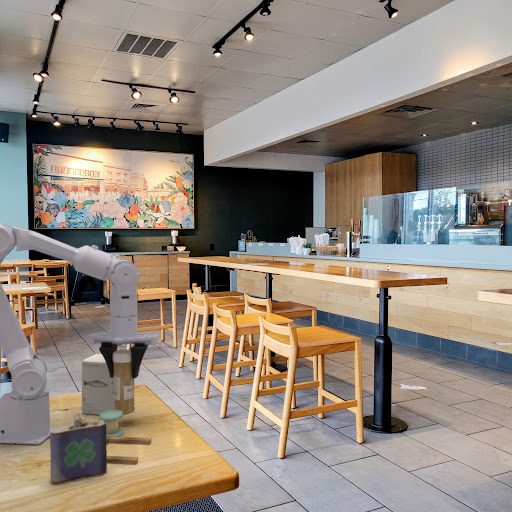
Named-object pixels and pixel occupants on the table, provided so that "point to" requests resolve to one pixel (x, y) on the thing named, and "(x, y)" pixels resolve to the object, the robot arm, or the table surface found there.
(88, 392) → the supplement box
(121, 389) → the spice jar
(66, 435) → the flask
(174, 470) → the table surface
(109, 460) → the u-shaped brown frame
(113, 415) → the bobbin
